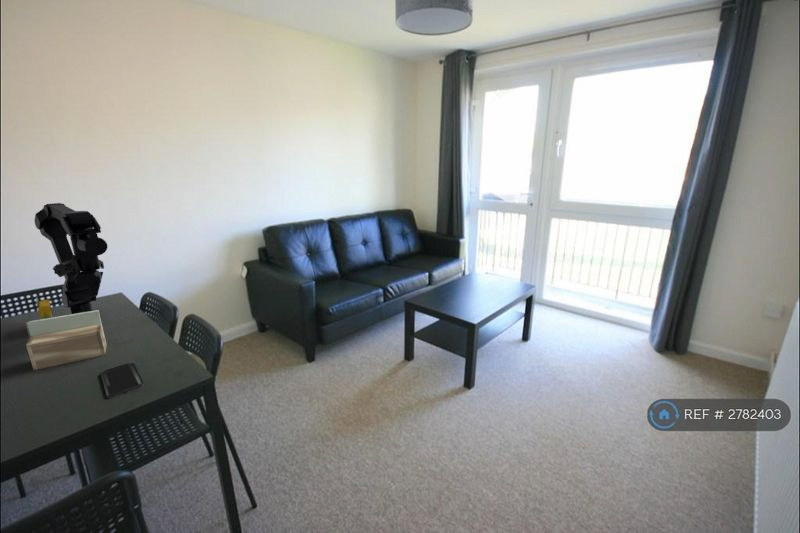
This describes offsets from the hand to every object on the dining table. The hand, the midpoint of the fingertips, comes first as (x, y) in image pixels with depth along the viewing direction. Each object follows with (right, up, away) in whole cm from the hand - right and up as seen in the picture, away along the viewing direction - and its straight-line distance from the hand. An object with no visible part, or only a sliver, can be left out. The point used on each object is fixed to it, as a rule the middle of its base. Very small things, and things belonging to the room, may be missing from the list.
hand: (95, 295), depth 124 cm
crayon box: (-19, -12, +4) cm, 23 cm away
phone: (+27, -22, -23) cm, 42 cm away
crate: (+4, -18, -13) cm, 23 cm away
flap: (+2, -17, -11) cm, 20 cm away
